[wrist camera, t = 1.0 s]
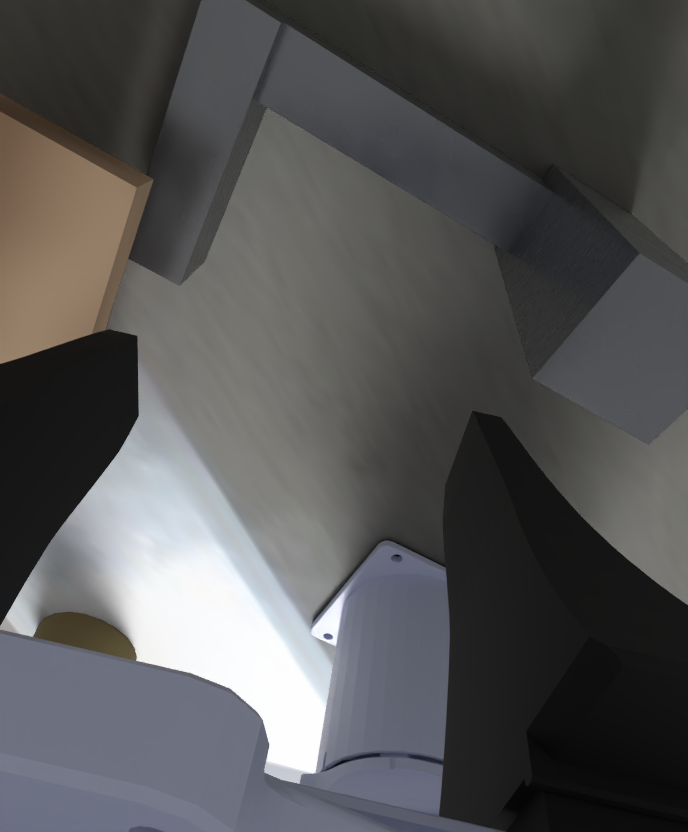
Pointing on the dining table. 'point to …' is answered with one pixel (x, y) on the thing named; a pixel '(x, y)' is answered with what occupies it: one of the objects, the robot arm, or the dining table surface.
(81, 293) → the cubby
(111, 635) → the cork
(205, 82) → the grey angled block
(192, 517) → the dining table surface
